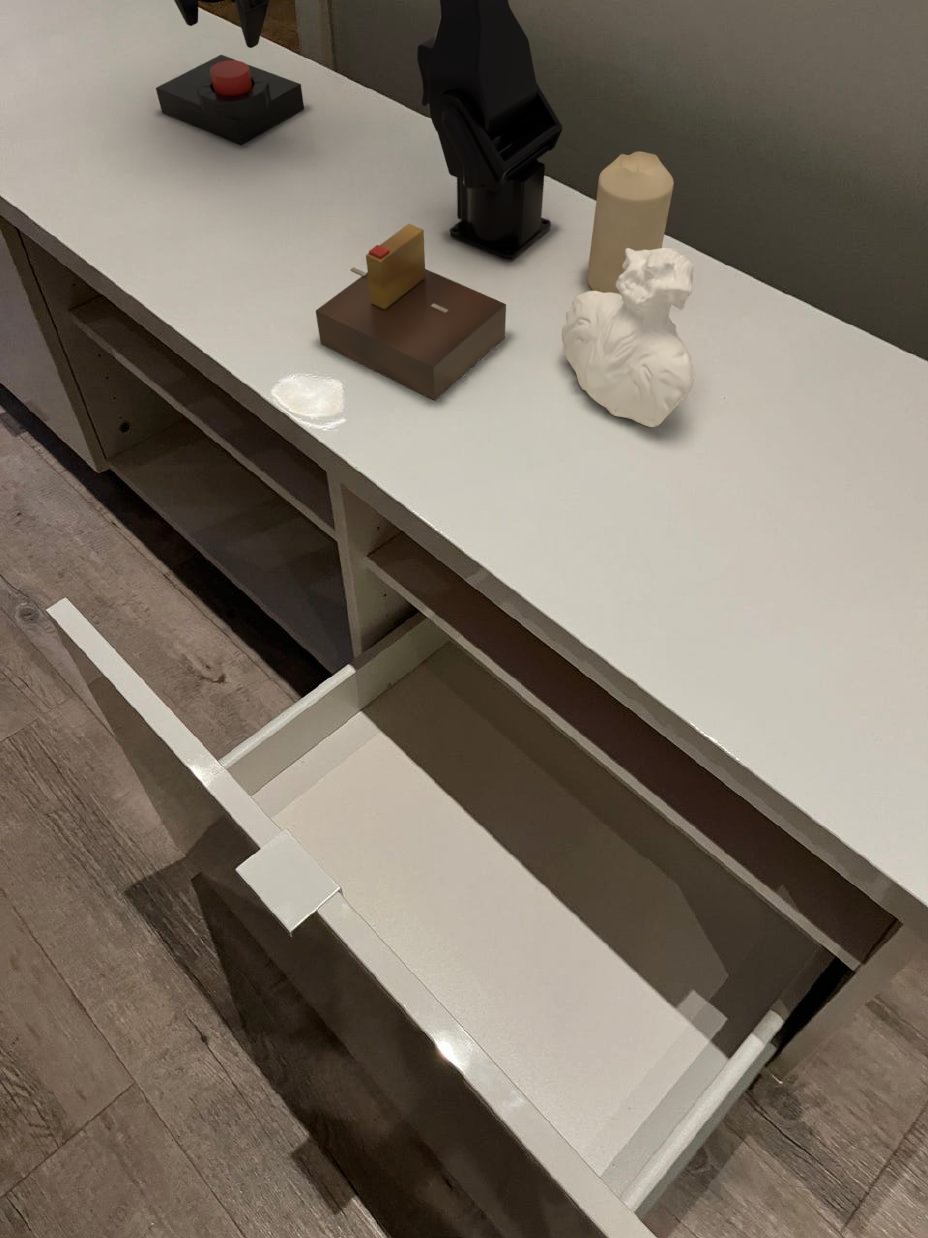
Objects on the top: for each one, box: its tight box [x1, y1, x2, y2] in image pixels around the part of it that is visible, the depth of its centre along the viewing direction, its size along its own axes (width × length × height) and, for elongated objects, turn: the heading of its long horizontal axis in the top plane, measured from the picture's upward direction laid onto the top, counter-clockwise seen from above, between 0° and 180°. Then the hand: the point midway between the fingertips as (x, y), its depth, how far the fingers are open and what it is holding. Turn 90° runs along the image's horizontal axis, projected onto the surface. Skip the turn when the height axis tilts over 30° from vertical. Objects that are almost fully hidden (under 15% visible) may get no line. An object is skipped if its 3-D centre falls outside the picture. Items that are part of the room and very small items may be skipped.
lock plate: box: [315, 266, 507, 401], centre depth 70 cm, size 12×9×3 cm
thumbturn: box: [365, 223, 426, 309], centre depth 68 cm, size 5×1×4 cm, turn 144°
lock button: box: [210, 59, 252, 96], centre depth 87 cm, size 4×4×2 cm
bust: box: [561, 247, 697, 428], centre depth 64 cm, size 12×8×11 cm
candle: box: [587, 151, 675, 296], centre depth 71 cm, size 6×6×10 cm
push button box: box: [155, 54, 305, 146], centre depth 90 cm, size 12×10×4 cm
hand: (222, 34), depth 83 cm, fingers open, 7 cm apart
